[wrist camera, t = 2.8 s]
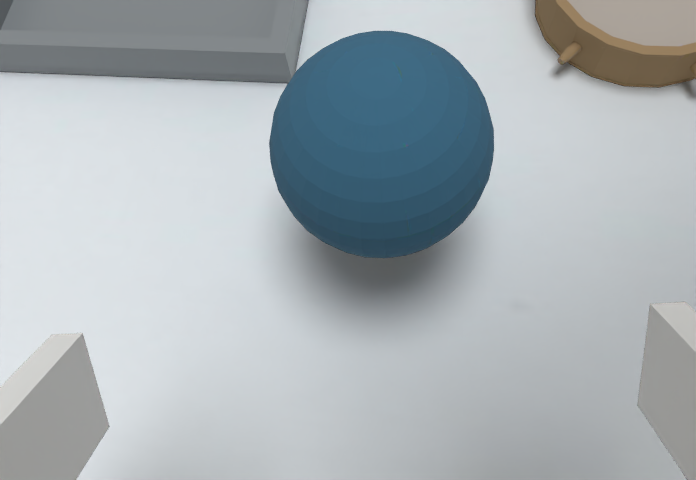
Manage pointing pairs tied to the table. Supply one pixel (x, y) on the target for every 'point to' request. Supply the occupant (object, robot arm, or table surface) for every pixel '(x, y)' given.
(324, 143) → the light bulb
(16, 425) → the robot arm
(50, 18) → the tray
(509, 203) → the table surface
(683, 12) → the alarm clock
